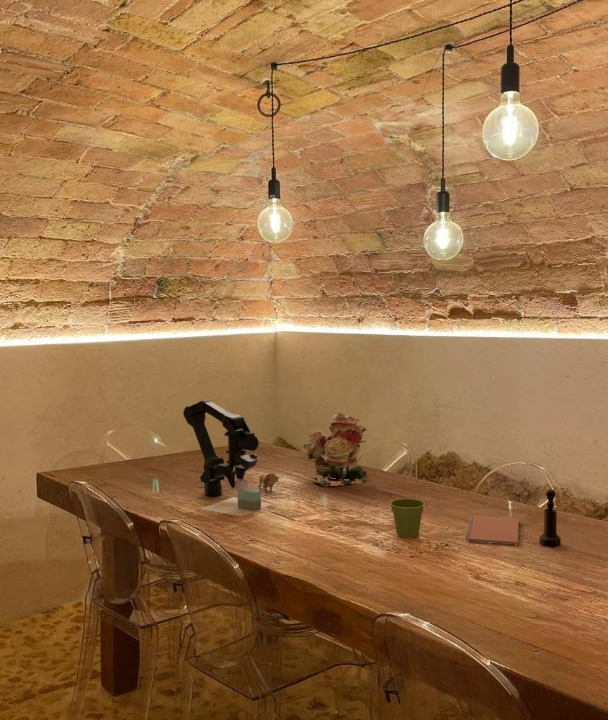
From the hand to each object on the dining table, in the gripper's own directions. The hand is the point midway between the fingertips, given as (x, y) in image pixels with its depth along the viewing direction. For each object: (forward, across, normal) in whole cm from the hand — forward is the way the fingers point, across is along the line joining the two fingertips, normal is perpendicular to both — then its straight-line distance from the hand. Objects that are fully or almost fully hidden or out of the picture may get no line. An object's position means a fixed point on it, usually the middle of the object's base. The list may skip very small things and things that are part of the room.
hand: (236, 486), depth 302 cm
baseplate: (+6, -7, -6) cm, 11 cm away
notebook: (+7, +15, -100) cm, 101 cm away
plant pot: (+6, -4, -77) cm, 77 cm away
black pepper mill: (+7, +12, -120) cm, 121 cm away
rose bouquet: (+6, +51, -16) cm, 54 cm away
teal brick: (+2, -7, -12) cm, 14 cm away
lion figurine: (+6, +19, -1) cm, 20 cm away
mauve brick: (+1, 0, 0) cm, 1 cm away
